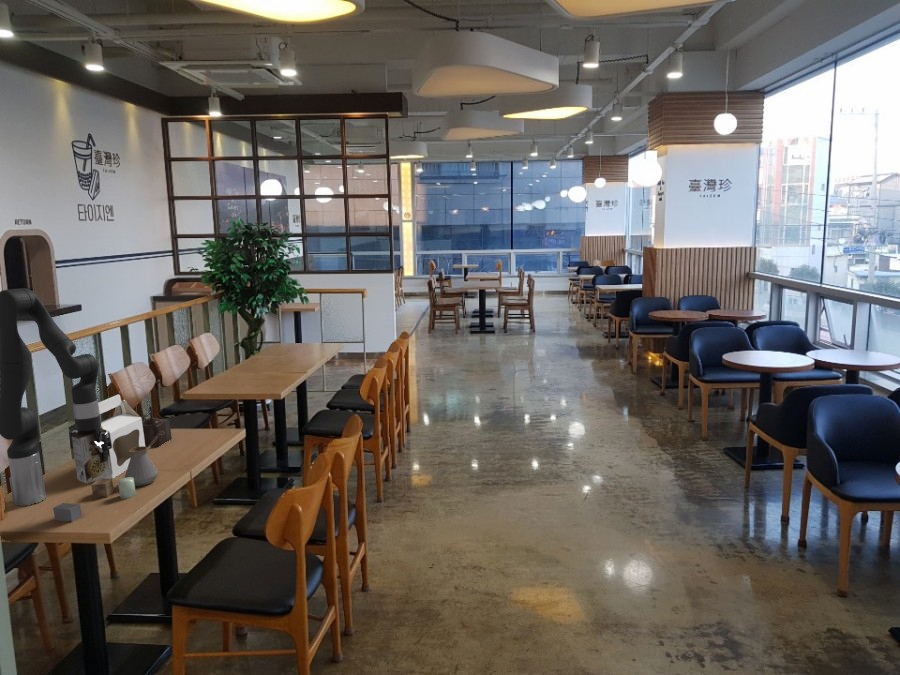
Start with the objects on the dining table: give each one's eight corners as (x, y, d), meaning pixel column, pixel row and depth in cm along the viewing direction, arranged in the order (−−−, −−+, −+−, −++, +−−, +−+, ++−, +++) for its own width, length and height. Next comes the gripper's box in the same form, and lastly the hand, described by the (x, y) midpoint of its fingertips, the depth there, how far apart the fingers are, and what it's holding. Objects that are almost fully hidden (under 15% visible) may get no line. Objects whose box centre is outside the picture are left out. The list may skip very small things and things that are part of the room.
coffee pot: (147, 488, 248) (141, 449, 245) (118, 488, 250) (113, 448, 247) (180, 466, 269) (175, 430, 266) (153, 466, 271) (148, 429, 268)
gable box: (118, 457, 283) (109, 391, 278) (147, 458, 280) (138, 391, 275) (81, 478, 261) (70, 407, 256) (112, 479, 259) (101, 408, 254)
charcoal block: (55, 520, 225) (53, 507, 224) (65, 515, 229) (63, 502, 228) (72, 522, 223) (70, 509, 222) (81, 517, 227) (79, 504, 226)
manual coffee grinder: (150, 438, 305) (145, 399, 302) (172, 439, 303) (167, 400, 299) (127, 451, 290) (121, 410, 287) (150, 451, 288) (144, 410, 284)
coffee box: (103, 471, 237) (97, 426, 234) (113, 474, 233) (107, 429, 230) (76, 479, 230) (70, 433, 227) (86, 483, 226) (80, 437, 223)
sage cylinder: (117, 498, 241) (114, 482, 240) (126, 492, 245) (124, 476, 244) (129, 499, 240) (127, 483, 238) (138, 493, 244) (136, 477, 243)
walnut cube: (93, 498, 242) (91, 484, 241) (99, 492, 247) (97, 479, 246) (107, 497, 242) (105, 483, 241) (113, 491, 247) (111, 478, 246)
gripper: (60, 417, 225) (66, 464, 228) (97, 418, 222) (103, 466, 225) (76, 410, 233) (83, 456, 236) (113, 412, 229) (119, 458, 232)
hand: (93, 461), depth 230 cm, fingers closed on coffee box, 8 cm apart
